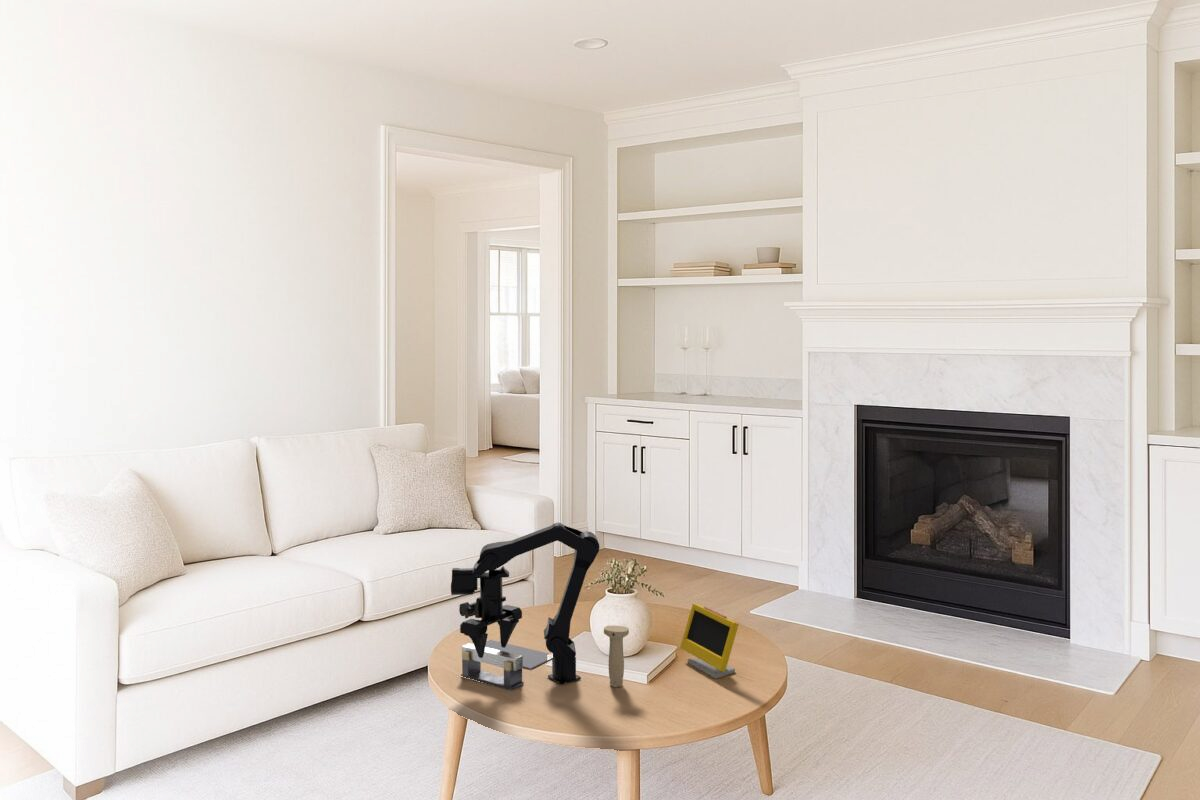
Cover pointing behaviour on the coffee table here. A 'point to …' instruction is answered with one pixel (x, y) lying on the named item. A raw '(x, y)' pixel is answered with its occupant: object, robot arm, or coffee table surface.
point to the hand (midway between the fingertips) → (492, 652)
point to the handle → (616, 653)
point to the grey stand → (491, 674)
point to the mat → (521, 653)
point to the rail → (494, 657)
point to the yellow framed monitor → (709, 641)
